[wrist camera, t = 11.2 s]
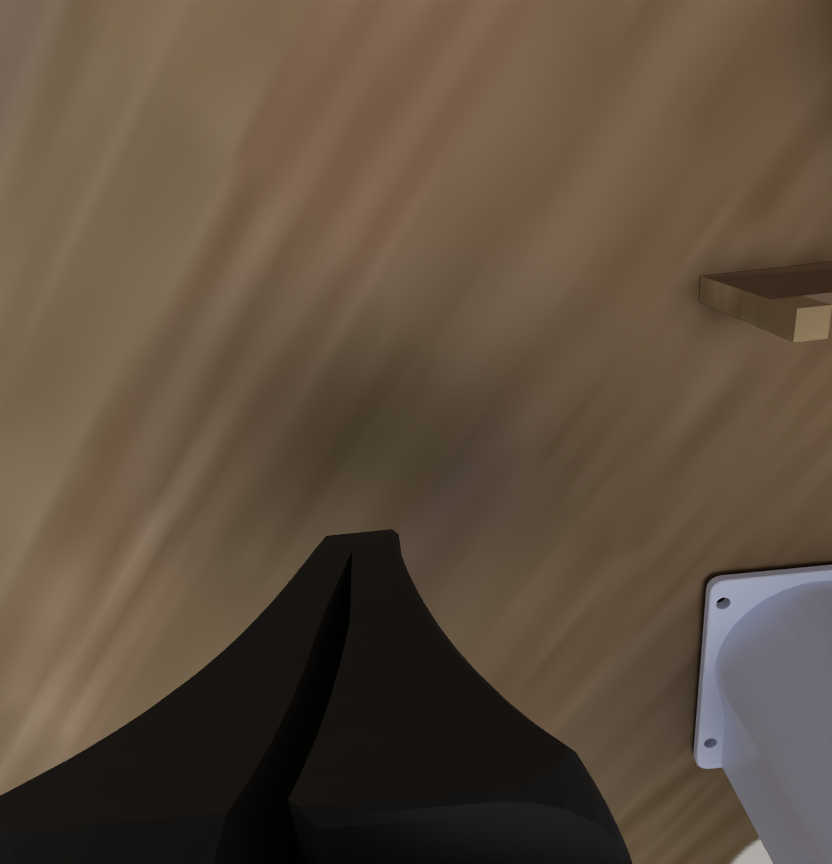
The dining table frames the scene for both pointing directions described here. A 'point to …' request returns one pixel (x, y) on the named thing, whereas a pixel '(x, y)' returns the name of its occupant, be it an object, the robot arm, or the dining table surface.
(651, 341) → the dining table surface
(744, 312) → the shallow wooden tray
